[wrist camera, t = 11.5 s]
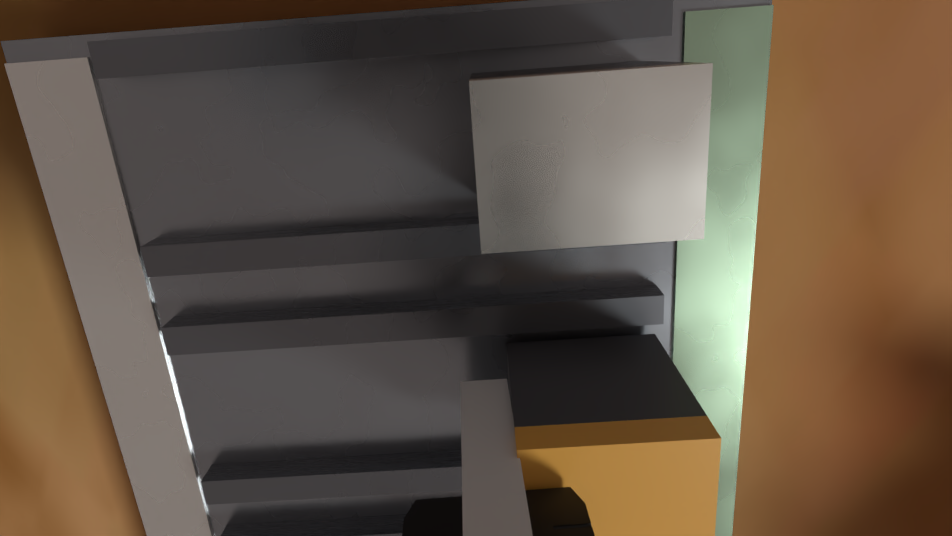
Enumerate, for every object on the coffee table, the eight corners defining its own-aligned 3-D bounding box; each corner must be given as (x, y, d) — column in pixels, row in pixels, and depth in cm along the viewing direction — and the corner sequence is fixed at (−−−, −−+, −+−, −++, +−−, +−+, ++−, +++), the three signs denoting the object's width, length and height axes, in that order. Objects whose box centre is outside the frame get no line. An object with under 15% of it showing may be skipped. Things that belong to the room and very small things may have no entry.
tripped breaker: (506, 343, 17) (516, 449, 12) (654, 333, 17) (721, 438, 12) (512, 438, 18) (523, 570, 13) (652, 429, 18) (713, 560, 13)
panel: (42, 42, 16) (-217, 34, 10) (746, -12, 16) (914, -54, 10) (206, 627, 22) (108, 835, 16) (706, 601, 22) (791, 805, 16)
